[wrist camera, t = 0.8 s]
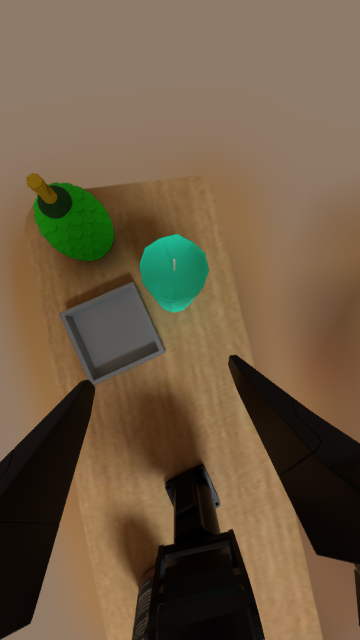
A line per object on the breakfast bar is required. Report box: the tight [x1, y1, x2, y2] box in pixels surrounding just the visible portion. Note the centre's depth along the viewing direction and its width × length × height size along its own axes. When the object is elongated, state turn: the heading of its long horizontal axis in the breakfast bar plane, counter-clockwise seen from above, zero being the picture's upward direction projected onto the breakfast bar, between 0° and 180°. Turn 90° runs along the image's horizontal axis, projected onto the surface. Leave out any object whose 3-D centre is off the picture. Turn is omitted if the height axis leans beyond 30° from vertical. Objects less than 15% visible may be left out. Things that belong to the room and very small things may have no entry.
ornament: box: [27, 173, 114, 261], centre depth 17 cm, size 8×8×10 cm
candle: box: [139, 234, 209, 312], centre depth 17 cm, size 6×6×12 cm
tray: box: [59, 282, 166, 385], centre depth 21 cm, size 11×11×2 cm
